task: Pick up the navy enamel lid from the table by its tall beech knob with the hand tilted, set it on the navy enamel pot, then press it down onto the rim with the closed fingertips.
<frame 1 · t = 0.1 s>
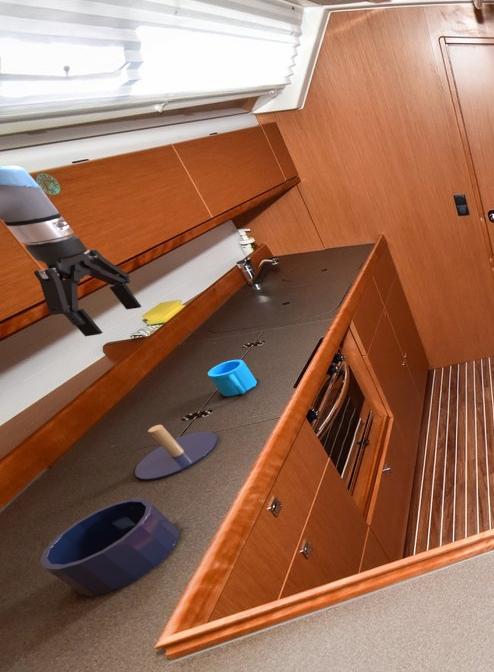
hand: (115, 320, 101), 31 cm above the table, tool pointing down, fingers open, 13 cm apart
pot: (132, 558, 81), on the table
mug: (242, 391, 124), on the table
lid: (178, 455, 102), point 1 cm above the table
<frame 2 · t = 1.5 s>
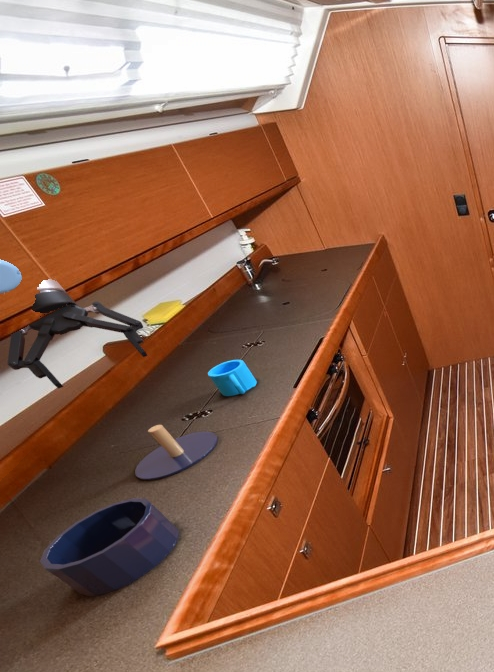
hand: (104, 369, 96), 24 cm above the table, tool tilted 45°, fingers open, 13 cm apart
nothing on the table moved.
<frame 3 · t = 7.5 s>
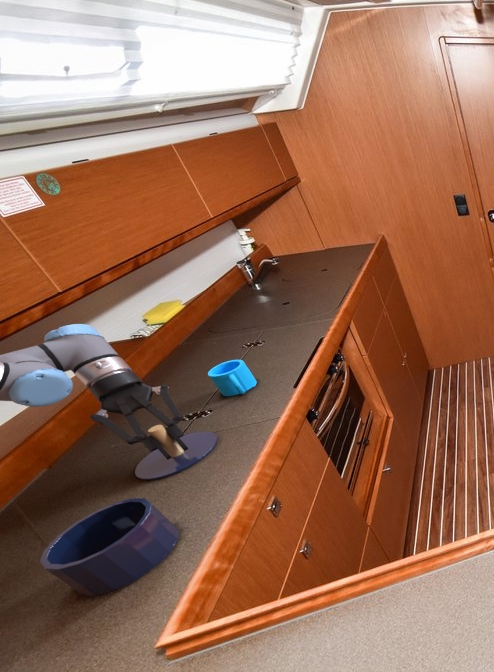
hand: (177, 453, 99), 4 cm above the table, tool tilted 45°, fingers closed on lid, 2 cm apart
lid: (178, 455, 102), point 1 cm above the table, touching gripper
everything else where it was.
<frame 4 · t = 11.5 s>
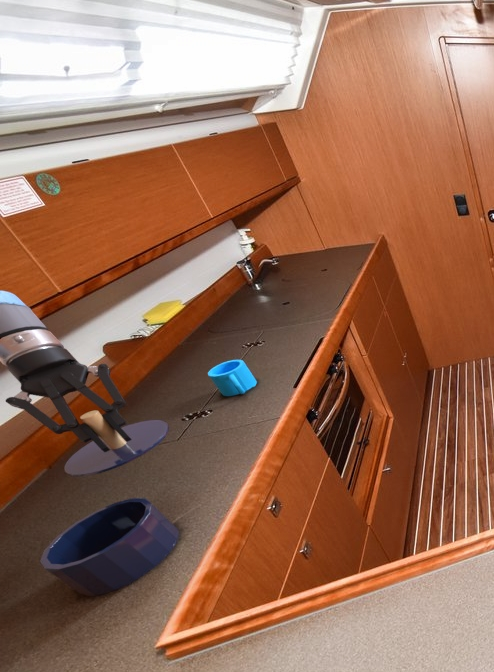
hand: (116, 444, 83), 18 cm above the table, tool tilted 45°, fingers closed on lid, 2 cm apart
lid: (120, 447, 86), point 15 cm above the table, touching gripper
everything else where it was.
when the fingers open (12 cm above the table, at t = 15.6 s): lid stays where it is, resting on pot.
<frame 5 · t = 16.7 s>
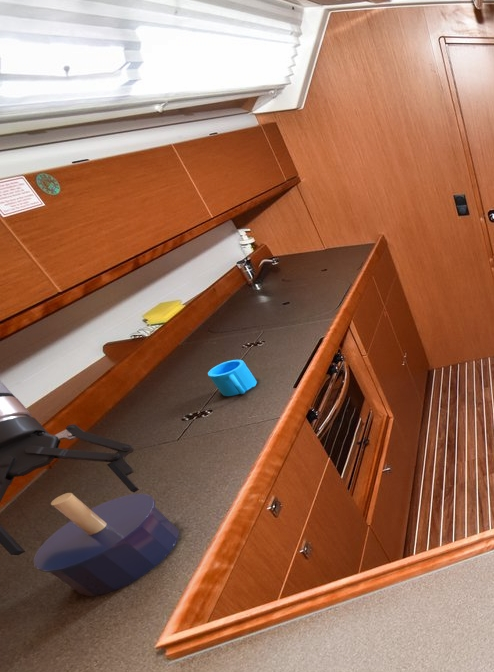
hand: (80, 519, 72), 15 cm above the table, tool tilted 45°, fingers open, 13 cm apart
lid: (99, 530, 76), point 9 cm above the table, touching pot
everything else where it was.
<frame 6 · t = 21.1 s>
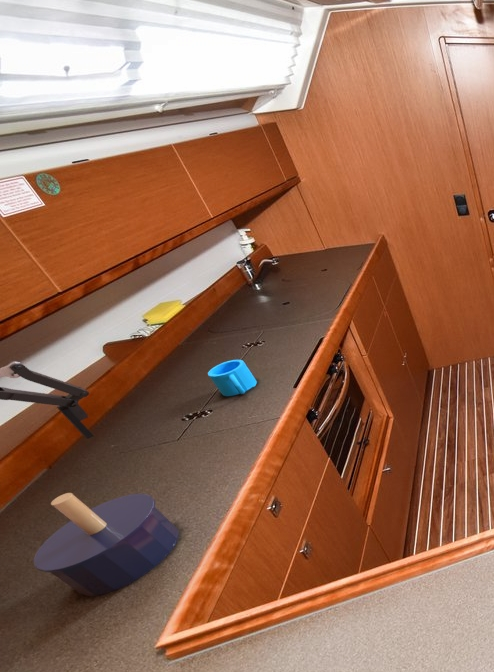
hand: (27, 463, 68), 27 cm above the table, tool pointing down, fingers open, 13 cm apart
nothing on the table moved.
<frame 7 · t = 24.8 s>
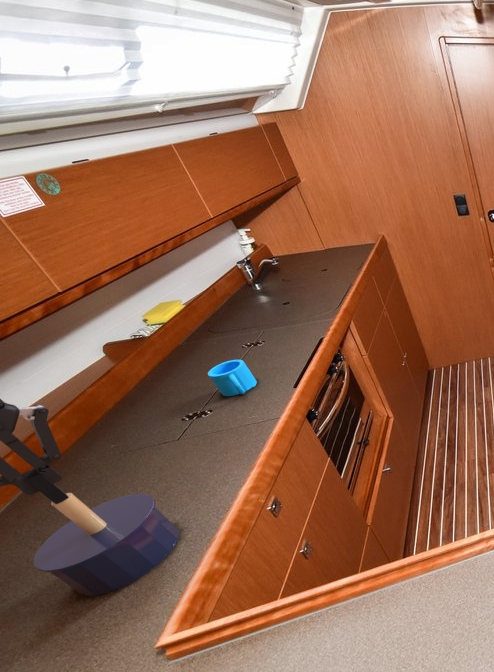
hand: (60, 497, 71), 19 cm above the table, tool pointing down, fingers closed
lid: (99, 530, 76), point 9 cm above the table, touching gripper, pot
everything else where it was.
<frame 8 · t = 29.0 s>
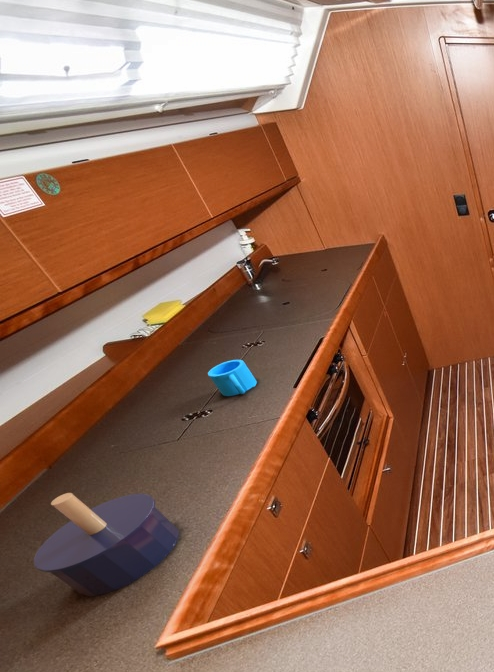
lid: (99, 530, 76), point 9 cm above the table, touching pot
everything else where it was.
at the end: lid 0.1 cm off-centre on the pot, point 9.5 cm above the pot's base; lid tilted 0°; the gripper is holding nothing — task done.
